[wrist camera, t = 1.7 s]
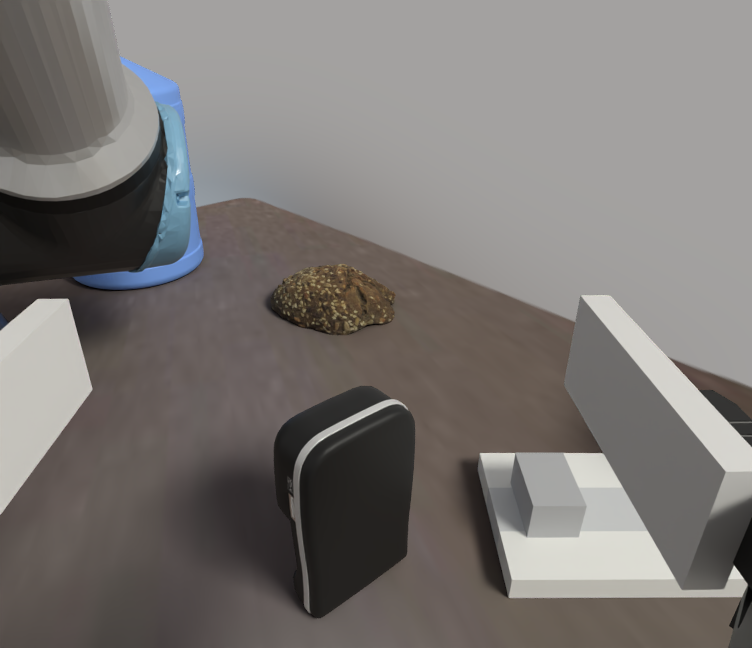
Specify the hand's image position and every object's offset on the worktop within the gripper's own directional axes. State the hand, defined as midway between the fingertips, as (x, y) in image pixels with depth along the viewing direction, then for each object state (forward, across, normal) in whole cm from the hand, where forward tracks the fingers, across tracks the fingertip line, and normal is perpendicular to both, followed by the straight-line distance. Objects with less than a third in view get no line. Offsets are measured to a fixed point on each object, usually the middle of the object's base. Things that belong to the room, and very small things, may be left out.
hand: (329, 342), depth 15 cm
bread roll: (+43, -2, -20) cm, 47 cm away
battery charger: (+10, 0, -20) cm, 23 cm away
